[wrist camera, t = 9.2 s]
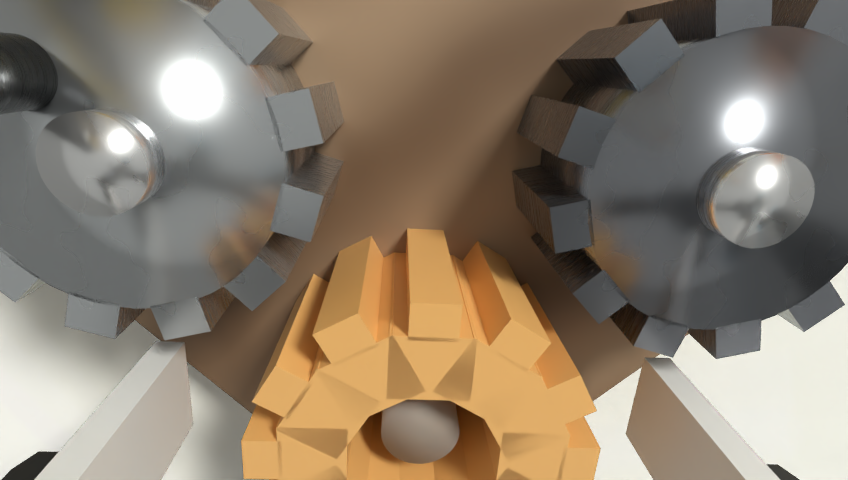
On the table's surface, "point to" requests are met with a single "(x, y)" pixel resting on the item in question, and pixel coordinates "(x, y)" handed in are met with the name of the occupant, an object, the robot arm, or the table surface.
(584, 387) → the orange gear
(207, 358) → the gear board
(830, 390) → the table surface
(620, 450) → the table surface
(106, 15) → the gear
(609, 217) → the gear
